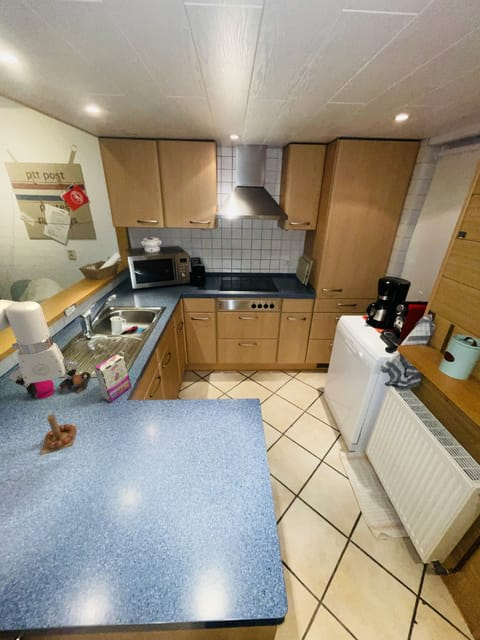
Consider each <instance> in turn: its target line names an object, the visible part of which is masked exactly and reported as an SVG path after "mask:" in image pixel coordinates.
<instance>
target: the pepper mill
mask: <svg viewBox="0 0 480 640" xmlns="http://www.w3.org/2000/svg"><path fill="white" fill-rule="evenodd" d="M34 384H35V387H36V389H37V393H36V395H35V398H37V399H39V400H42V399H46V398H50V397H51V396H52V395H54V393H55V388H54V386H55V384H54V382H53V380H52V379H51V380H46V381H41V382H35V383H34Z"/></svg>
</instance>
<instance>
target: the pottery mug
mask: <svg viewBox="0 0 480 640" xmlns="http://www.w3.org/2000/svg"><path fill="white" fill-rule="evenodd" d="M85 375H86V378H85ZM91 376H92V375H91V372H89V371H83V372H82V373H80V374H77V373H75V374H74V375H73V376H72V377H73V380H74V385H73V386H75V387H76V386H77V387H79V388H78V389H77V390H76V391H75V392H76V393H77V394H80V393H82V392H84V391H85V390H86V389H87V388H88V385H89V384H88V382H89V381H90V379H91ZM58 386H59V387H60V390H61V391H62V392H64V391H65V389H67V390H69V389H68V386H67V383H66V378H65V379H64V380H62V381H61V382H60V383H59V385H58Z"/></svg>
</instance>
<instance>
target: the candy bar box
mask: <svg viewBox="0 0 480 640" xmlns="http://www.w3.org/2000/svg"><path fill="white" fill-rule="evenodd" d="M93 370H94V373H95V375H96V379H97V382H98V385H99V389H100V392H101V396H102V398H103V399H105V400H106V402H109V403H112V402H114V401H115V400H117V399H118V398H119V397H120V396H122V395H123V394H124V393H125V392H127V391H128V390H130V389H131V388H132V384H131V379H130V374H129V371H128V366H127V362H126V358H125V356H124V355H121V354H115V355H113V356H111V357H109V358H108V359H106V360H105V361H103V362H101V363H100V364H98V365H96V366H95V367H93Z"/></svg>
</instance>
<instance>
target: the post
mask: <svg viewBox="0 0 480 640" xmlns="http://www.w3.org/2000/svg"><path fill="white" fill-rule="evenodd" d="M46 420H47V422H48V424H49V427H50V429H51V430H52V432H53V434H54V436H53V437H52V439H51V441H52V442H57V441H60V440H62V439H64V438H66V437H67V436H68V434H69V431H67V430H64V431H60V428H59V426H60V425H59V423H58V421H57V418H56V416H55V415H54V414H49V415H47V417H46ZM72 425H73V424H72ZM73 426H74V427H75V428H76V429H77V424H74V425H73ZM49 432H50V431H48V432H46V435H47V434H48V433H49ZM46 435H45V436H46ZM75 437H76V435H75V436H74V438H73V439H72V440H71V441H70V442H69V443H67V444H66V445H64V446H62V447H59V448H55V449H52V448H47V447H46V446H45V445H44V443H43V444H42V447H41V450H40V453H39V454H40V456H41V455H46V454H48V453H52V452H55V451H60V450H63V449H66V448H69V447H72V446H74V443H75Z"/></svg>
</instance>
